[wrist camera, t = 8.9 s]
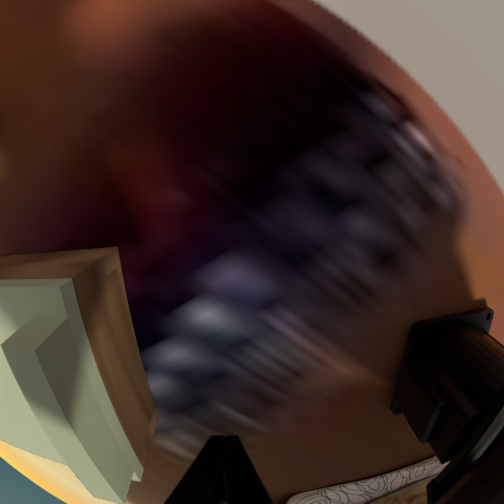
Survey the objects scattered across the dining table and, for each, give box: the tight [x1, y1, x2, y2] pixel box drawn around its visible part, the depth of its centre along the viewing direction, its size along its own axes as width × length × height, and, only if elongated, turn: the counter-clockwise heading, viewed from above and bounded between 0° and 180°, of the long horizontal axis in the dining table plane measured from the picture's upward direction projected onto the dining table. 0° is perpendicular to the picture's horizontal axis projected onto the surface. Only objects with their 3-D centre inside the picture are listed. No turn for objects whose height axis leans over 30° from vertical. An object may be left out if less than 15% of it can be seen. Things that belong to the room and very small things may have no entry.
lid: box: [0, 278, 144, 504], centre depth 8 cm, size 11×10×3 cm
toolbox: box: [0, 247, 159, 468], centre depth 11 cm, size 17×10×4 cm, turn 93°
